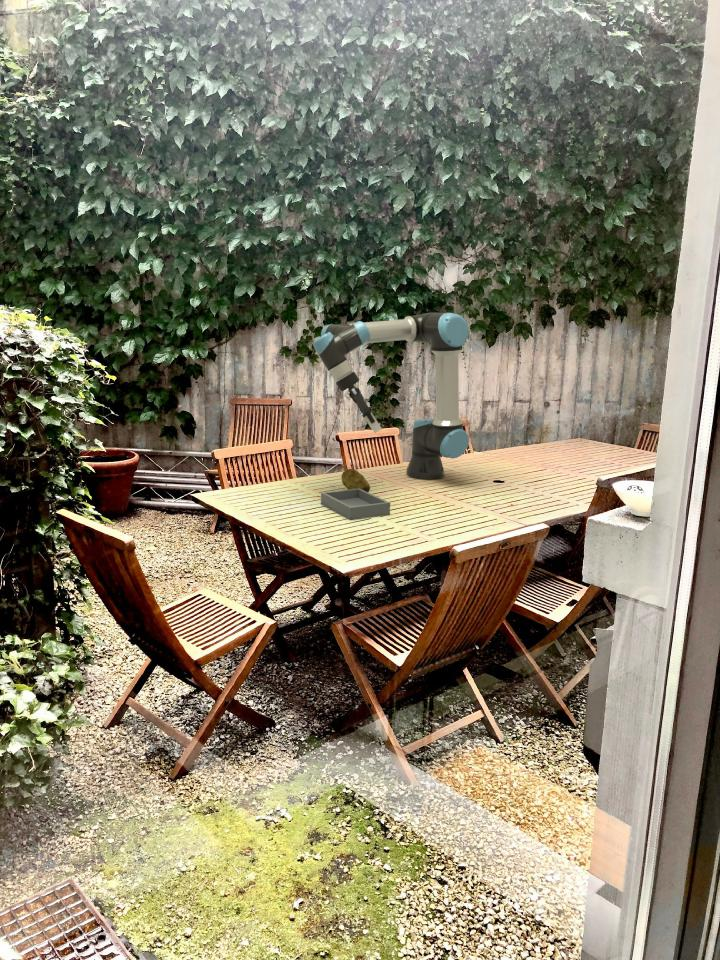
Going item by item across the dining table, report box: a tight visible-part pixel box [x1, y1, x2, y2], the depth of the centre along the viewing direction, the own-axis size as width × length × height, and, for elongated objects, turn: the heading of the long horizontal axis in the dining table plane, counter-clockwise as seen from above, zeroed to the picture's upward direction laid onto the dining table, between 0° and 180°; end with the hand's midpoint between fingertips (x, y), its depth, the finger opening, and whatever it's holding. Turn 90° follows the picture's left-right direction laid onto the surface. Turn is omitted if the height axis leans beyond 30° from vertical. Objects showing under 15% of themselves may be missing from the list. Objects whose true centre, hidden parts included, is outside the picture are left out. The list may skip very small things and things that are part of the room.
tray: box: [320, 488, 391, 521], centre depth 235 cm, size 20×15×4 cm
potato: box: [340, 468, 371, 493], centre depth 256 cm, size 8×13×8 cm, turn 20°
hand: (376, 429), depth 243 cm, fingers open, 13 cm apart
